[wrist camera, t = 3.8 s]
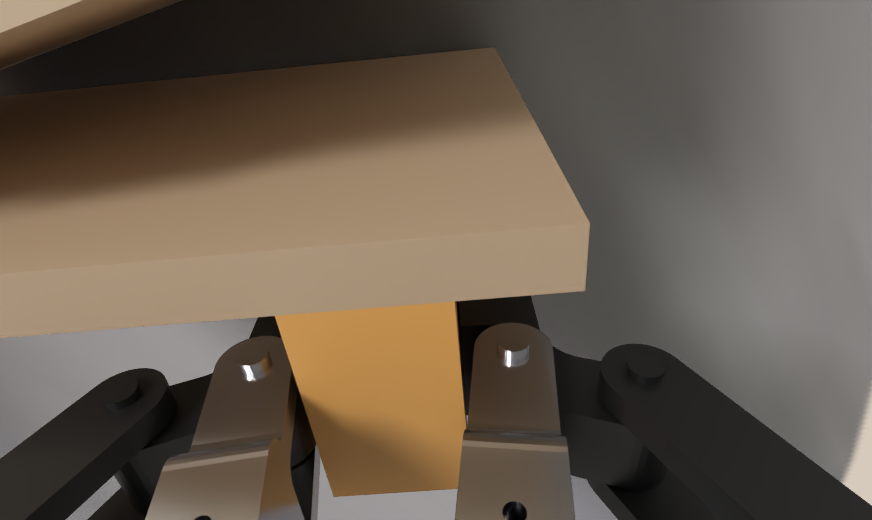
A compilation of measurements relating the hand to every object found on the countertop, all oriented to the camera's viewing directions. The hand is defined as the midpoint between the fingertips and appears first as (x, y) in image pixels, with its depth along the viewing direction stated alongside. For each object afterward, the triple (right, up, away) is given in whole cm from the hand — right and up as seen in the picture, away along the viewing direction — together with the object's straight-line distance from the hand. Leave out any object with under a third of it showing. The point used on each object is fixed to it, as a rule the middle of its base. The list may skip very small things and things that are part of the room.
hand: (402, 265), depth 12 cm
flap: (-5, +4, +5) cm, 8 cm away
